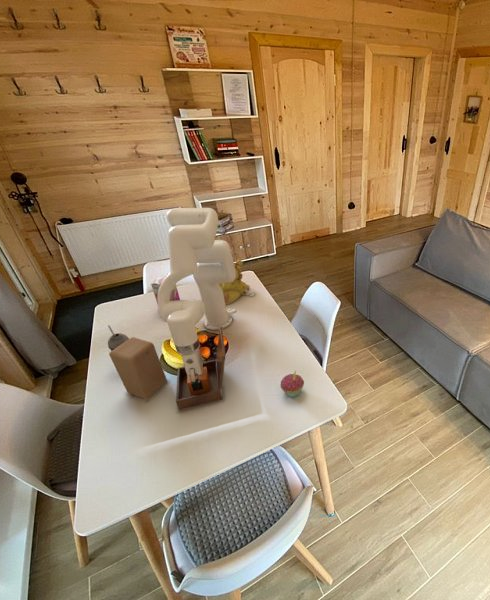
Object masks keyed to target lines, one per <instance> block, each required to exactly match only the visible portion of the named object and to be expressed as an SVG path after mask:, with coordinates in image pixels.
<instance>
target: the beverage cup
mask: <svg viewBox="0 0 490 600" xmlns="http://www.w3.org/2000/svg"><path fill="white" fill-rule="evenodd" d="M107 327H108V329H109V331H110V332H111V335H110V337H109V338H108V340H107V347H108V349H109V350H110V352H111V351H112V350H114V349H115V348H117V347H118V346H120V345H121V344H123V343H124V342H126V341H127V340H128V339H130V337H128V336H127V335H126V334H124V333H121V332H120V333H119V332H117V333H115V332H114V331H113V329H112V327H111V326H110V325H109V324H108V325H107Z"/></svg>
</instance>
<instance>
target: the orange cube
mask: <svg viewBox="0 0 490 600" xmlns="http://www.w3.org/2000/svg"><path fill="white" fill-rule="evenodd" d="M195 374H197V373H196V372H195ZM195 378H196V379H197V376H195ZM199 379H200V380H201V383H202V386H203V389H201V390H197V391H193V388H192V385H191V380H190V377H188V375H187V384H188V387H189V390H190V393H191V396H193V395H197V394H201V393H205V392H209V391H210V378H209V374H208V371H207V367H203V373H202V375H199Z"/></svg>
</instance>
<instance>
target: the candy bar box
mask: <svg viewBox="0 0 490 600" xmlns="http://www.w3.org/2000/svg"><path fill="white" fill-rule="evenodd" d="M168 274H169V273H163V274H162V275H161V276H159V277H158V278H157V279H155V280H154V281H152V282H151V283H150V286H151V288H152V292H153V295H154V298H155V301H156V304H157V305H158V290H159V287H160V285H161V283H162V281H163V280H164V278H165V277H166V276H167V275H168ZM178 290H179V289H178V286H177V283H176V284H175V285H174V286H173V287H172V288H171V291H170V294H169V301H179V300H181V298H180V295H179V291H178Z"/></svg>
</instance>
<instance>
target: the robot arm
mask: <svg viewBox="0 0 490 600" xmlns="http://www.w3.org/2000/svg"><path fill="white" fill-rule="evenodd" d="M166 219H167V222H168V223H169V225H170V227H171V228H170V229H169V230H168V233H167V234H168V236H167V237H168V252H169V272H168V273H167V274H168V275H167V276H166V277H165V278H164V280H163V281H162V283H161V285H160V287H159V290H158V304H157V309H158V316H159V319H160V320H161V321H162V322H163V323H167V325H168V329H169V332H170V335H171V338H172V341H173V345H174V348H175V350H176V353H177V354H179V355H181V359H182V363H183V367H185V370H186V373H187V375H188V377H190V380H191V385H192V388H193V391H197V390H201V389H203V386H202V383H201V380H200V379H199V375H202V373H203V362H204V359H203V356H202V353H201V350H200V348H201V344H200V339H199V336H198V332H197V328H196V325H197V324H198V323H199V322H200V320H202V318H203V317H204V315H205V319H204V321H203V325H204V327H205V328H206V329H207V330H210V331H220V327H222V329H225V328H227V327H228V326H230V325H231V324H232V321H233V317H232V315H234V314H236V313H237V312H238V310H237V309H236V308H233V309H232V308H228V309H227V304H225V300H224V296H223V291H222V288H221V287H220V285H219V284H218V283H230V282H233V281H234V280H235V277H236V272H235V267H234V263H235V262H234V258H233V253H232V249H231V246H230V244H229V242H228V241H227V240H224V239H216V236H217V233H218V232H217V231H218V226H219V216H218V213H217V211H216V210H215V209H214V208H211V207H174V208H171V209H169V210H168V211H167V212H166ZM190 276H192V277H193V279H194V281H195V283H196V285H197V287H198V291H199V294H200V298H201V299H180V300H179V301H169V294H170V291H171V288H172V287H173V286H174V285H175V284H176V285H177V283H178V282H179V281H182V280H183V279H186V278H187V277H190ZM195 372H196V373H197V374H195ZM195 376H197V379H196V378H195Z"/></svg>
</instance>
